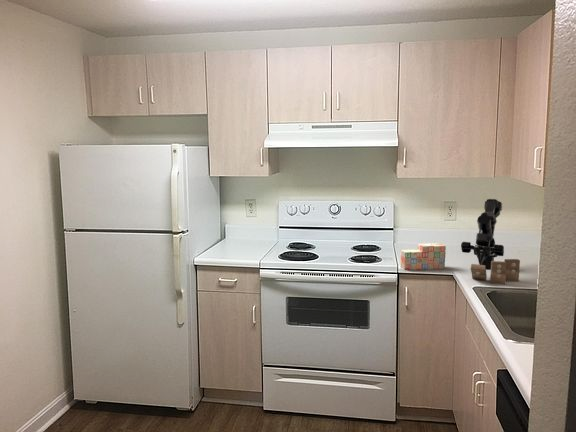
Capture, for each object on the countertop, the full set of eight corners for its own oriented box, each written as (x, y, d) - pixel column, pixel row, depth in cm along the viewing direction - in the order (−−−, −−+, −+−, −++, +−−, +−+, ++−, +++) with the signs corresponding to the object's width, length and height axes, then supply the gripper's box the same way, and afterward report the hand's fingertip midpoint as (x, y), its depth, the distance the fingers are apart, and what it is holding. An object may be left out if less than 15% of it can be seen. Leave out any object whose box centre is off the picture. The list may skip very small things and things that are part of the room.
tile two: (503, 280, 225) (504, 259, 224) (515, 279, 225) (517, 259, 224) (506, 281, 222) (507, 260, 221) (518, 281, 223) (520, 260, 221)
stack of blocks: (404, 270, 244) (405, 246, 243) (400, 267, 251) (401, 244, 249) (444, 269, 246) (446, 245, 245) (440, 266, 252) (441, 243, 251)
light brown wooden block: (490, 282, 222) (491, 260, 220) (504, 282, 220) (505, 261, 219) (491, 283, 219) (492, 262, 218) (505, 284, 218) (506, 262, 216)
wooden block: (473, 274, 229) (471, 263, 221) (486, 275, 226) (485, 265, 218) (472, 279, 228) (470, 268, 220) (485, 280, 225) (484, 270, 217)
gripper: (462, 225, 231) (457, 251, 223) (504, 228, 222) (500, 255, 214) (464, 238, 239) (459, 264, 231) (505, 242, 230) (501, 269, 222)
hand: (479, 263), depth 224 cm, fingers closed
